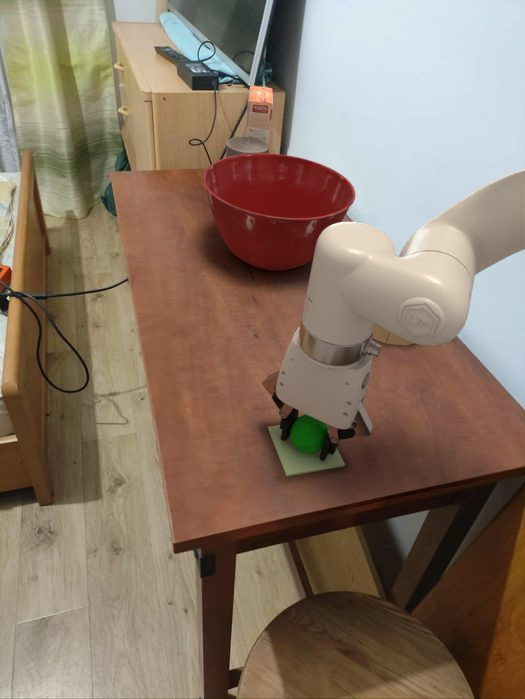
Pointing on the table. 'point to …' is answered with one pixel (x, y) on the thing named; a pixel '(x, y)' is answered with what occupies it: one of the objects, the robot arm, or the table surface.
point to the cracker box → (259, 113)
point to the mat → (301, 456)
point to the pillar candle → (245, 146)
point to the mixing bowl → (275, 206)
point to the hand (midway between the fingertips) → (306, 442)
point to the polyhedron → (308, 434)
